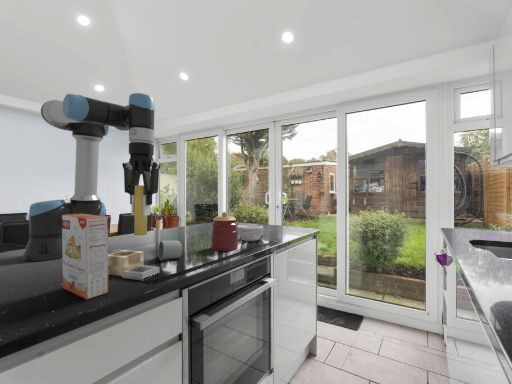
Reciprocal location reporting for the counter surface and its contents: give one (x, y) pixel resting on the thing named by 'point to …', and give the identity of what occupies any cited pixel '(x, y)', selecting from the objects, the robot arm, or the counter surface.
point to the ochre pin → (139, 212)
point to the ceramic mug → (170, 250)
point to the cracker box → (85, 254)
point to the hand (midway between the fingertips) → (140, 214)
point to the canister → (224, 233)
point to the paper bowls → (250, 232)
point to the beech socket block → (124, 261)
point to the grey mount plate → (140, 272)
